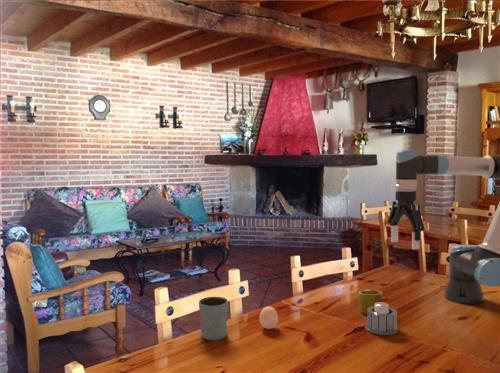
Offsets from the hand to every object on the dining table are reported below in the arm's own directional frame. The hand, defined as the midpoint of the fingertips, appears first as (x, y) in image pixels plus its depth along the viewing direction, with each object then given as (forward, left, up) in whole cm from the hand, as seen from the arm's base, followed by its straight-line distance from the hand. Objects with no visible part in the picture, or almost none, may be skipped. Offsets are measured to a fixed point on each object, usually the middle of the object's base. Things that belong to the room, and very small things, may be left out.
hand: (404, 245), depth 173 cm
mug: (+11, -6, -27) cm, 30 cm away
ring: (+17, +12, -26) cm, 33 cm away
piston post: (+17, +12, -27) cm, 34 cm away
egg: (+55, 0, -27) cm, 61 cm away
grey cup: (+75, 0, -27) cm, 80 cm away
